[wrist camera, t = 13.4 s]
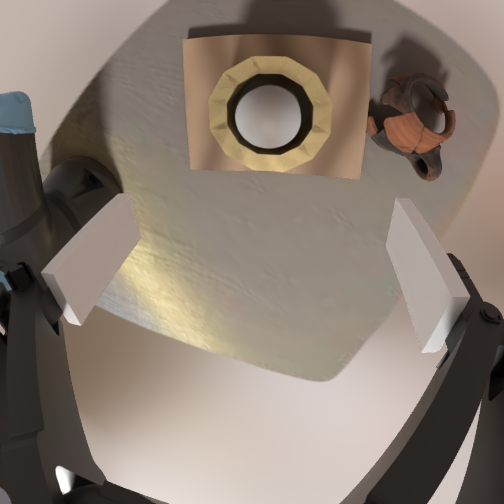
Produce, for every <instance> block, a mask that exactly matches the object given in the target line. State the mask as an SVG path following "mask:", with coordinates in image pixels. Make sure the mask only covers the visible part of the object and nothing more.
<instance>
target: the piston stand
mask: <svg viewBox="0 0 504 504" xmlns="http://www.w3.org/2000/svg"><path fill="white" fill-rule="evenodd" d="M253 56H281V57H289V58H290V59H292V60H294V61H296V62H297V63H299V64H301V65H302V66H304V67H306V68H307V69H309V70H311V71H312V72H314V73H315V74H316V75H318V77H319V79H320V81H321V83H322V85H323V86H324V88H325V90H326V92H327V94H328V96H329V98H330V100H331V101H332V119H331V132H330V136H329V137H328V138H327V140H326V141H325V143H324V144H323V145H322V147H321V148H320V149H319V151H318V152H317V154H316V155H315V156H314V158H313V159H312V160H310V161H307V162H305V163H303V164H301V165H298V166H296V167H294V168H292V169H290V170H287V171H284V172H279V173H294V174H308V175H320V176H331V177H341V178H351V179H359V180H360V174H361V167H362V160H363V152H364V144H365V136H366V127H367V117H368V106H369V94H370V79H371V60H372V44H368V43H363V42H357V41H350V40H343V39H335V38H327V37H316V36H304V35H284V34H244V35H225V36H212V37H201V38H193V39H185V40H183V65H184V86H185V104H186V119H187V133H188V145H189V157H190V168H191V170H232V171H256V170H254V169H253V170H252V169H250V168H248V167H246V166H245V165H243V164H241V163H239V162H238V161H236V160H234V159H232V158H231V157H229V156H227V155H226V154H225V152H224V151H223V149H222V148H221V146H220V145H219V143H218V141H217V140H216V138H215V137H214V135H213V134H212V132H211V131H210V130H211V129H210V121H209V98H210V96H211V94H212V92H213V90H214V89H215V87H216V85H217V83H218V82H219V80H220V78H221V76H222V74H223V73H224V72H225V71H227V70H229V69H230V68H232V67H234V66H236V65H237V64H239V63H241V62H243V61H245V60H246V59H248V58H250V57H253ZM239 101H240V102H239V104H238V106H237V109H236V113H235V119H236V125H237V128H238V130H239V132H240V133H241V135H242V136H243V137H244V138H245V139H246V140H247V141H248V142H250V143H251V144H253V145H255V146H258V147H261V148H277V147H280V146H283V145H285V144H287V143H288V142H290V141H291V140H292V139H293V138H294V137H295V135H296V134H297V132H299V131H300V129H301V128H302V127H303V125H304V124H305V122H306V121H307V119H308V118H309V109H310V99H309V97H308V95H307V93H306V92H305V90H304V88H303V86H301V85H300V84H298V83H296V82H295V81H293V80H291V79H290V78H288V77H286V76H284V75H283V74H262V75H260V76H258V77H256V78H254V79H253V80H251V81H249V82H248V83H247V85H246V87H245V88H244V90H243V92H242V93H241V95H240V97H239ZM260 172H276V171H260Z"/></svg>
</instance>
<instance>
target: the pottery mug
mask: <svg viewBox="0 0 504 504" xmlns="http://www.w3.org/2000/svg"><path fill="white" fill-rule="evenodd" d="M390 80H392V81H395V82H396V83H397V84H398V85H399V86H394V87H392V88H391V89H390V90H389V91H388V92H386V93H384V94H383V97H382V104H384V105H388V104H390V105H391V106H392V107H394V108H396V109H397V110H399V111H400V112H401V113H402V114H401V115H397V116H393V117H387V118H386V119H385V120H384V123H383V124H384V127H385V128H384V129H382V130H381V131H380V132H379V131H378V129H377V126H376V124H375V121H374V118H373V116H368V117H367V127H366V129H367V132H368V133H369V135H370V136H371V138H372V139H373V141H374V142H375V143H376V144H377V145H379V146H380V147H382V148H383V149H385V150H389V151H393V152H395V153H397V154H400V155H402V156H405V157H406V158H408V160H409V161H410V162H411V164H412V166H413V168H414V170H415V171H416V173H417V174H418V175H419V176H420V177H421V178H422V179H424V180H427V181H431V180H432V181H433V180H435V179H436V178H438V177H439V176H440V174H441V171H442V163H441V158H440V149H441V146H440V145H439V144H440V142H442V143H443V142H444V141H445V140H447V139H448V138H450V137H451V135H452V134H453V132H454V129H455V121H456V120H455V112H454V110H450V111H448V109H447V106H446V104H445V102H444V101H448V100H449V98H448V94H447V92H446V91H445V90H444V88H443V87H442V86H441V85H440V84H439V83H438V82H437V81H436V80H435V79H433V78H431V77H429V76H427V75H424V74H418V73H417V74H403V75H397V76H392V77H390ZM415 82H421V83H423V84H425V85H426V86H427V87H428V88H429V90H430V91H431V93H432V94H433V96H434V99H433V101H432V103H431V105H432V107H433V108H434V110H435V111H436V113H437V114H439V115H440V114H442V113H443V112H444V115H445V129H444V131H443V132H442V133H440V134H439V133H435V132H433V131H431V130H429V129H428V128H427V127H426V126H424V124H423V123H422V122H421V120H420V119H419V118H418V116H417V114H416V112H415V111H414V108H413V105H412V101H411V88H412V85H413V84H414V83H415Z"/></svg>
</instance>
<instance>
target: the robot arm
mask: <svg viewBox="0 0 504 504" xmlns="http://www.w3.org/2000/svg"><path fill="white" fill-rule="evenodd" d="M35 132H36V128H35V127H34V124H33V116H32V109H31V102H30V99H29V97H28V96H27V95H26V94H25V93H23V92H20V91H17V92H9V93H3V94H0V324H1V326H2V327H3V329H4V330H5V334H4V335H2V333H1V332H0V504H168V503H165V502H162V501H159V500H156V499H153V498H151V497H148V496H145V495H142V494H140V493H137V492H134V491H131V490H129V489H126V488H123V487H120V486H118V485H116V484H113V483H111V482H108V481H107V480H106V477H105V476H104V474H103V472H102V471H101V470H100V469H99V467H98V466H97V465H96V464H95V462H94V460H93V458H92V456H91V453H90V450H89V447H88V444H87V440H86V437H85V434H84V431H83V427H82V424H81V420H80V416H79V412H78V408H77V404H76V400H75V396H74V391H73V387H72V382H71V377H70V371H69V366H68V360H67V354H66V347H65V340H64V332H63V325H62V322H61V321H60V319H59V318H60V316H61V315H62V314H64V316H65V317H66V319H67V320H68V322H69V323H72V324H76V325H80V326H81V325H82V324H83V322H84V321H85V319H86V318H87V316H88V314H89V312H90V311H91V309H92V308H93V306H94V305H95V303H96V302H97V300H98V299H99V297H100V296H101V294H102V293H103V291H104V290H105V288H106V287H107V285H108V284H109V282H110V281H111V279H112V278H113V276H114V275H115V274H116V272H117V271H118V269H119V268H120V266H121V265H122V264H123V262H124V261H125V259H126V258H127V257H128V255H129V254H130V252H131V251H132V250H133V248H134V247H135V246H136V244H137V243H138V242H139V240H140V239H141V234H140V230H139V227H138V223H137V219H136V215H135V211H134V207H133V203H132V199H131V195H130V193H121V190H120V188H119V186H118V184H117V182H116V180H115V179H114V177H113V176H112V175H111V174H110V172H109V171H108V170H107V169H106V168H105V167H104V166H102V165H101V164H100V163H98V162H97V161H95V160H93V159H91V158H88V157H84V156H74V157H70V158H68V159H66V160H64V161H63V162H61V163H60V164H58V165H57V166H56V167H54V168H53V170H52V171H51V172H50V173H49V175H48V176H47V178H46V179H45V181H44V182H43V183H42V179H41V174H40V169H39V163H38V157H37V150H36V143H35ZM385 247H386V249H387V252H388V254H389V257H390V259H391V262H392V264H393V267H394V270H395V272H396V275H397V278H398V281H399V283H400V286H401V289H402V292H403V295H404V298H405V301H406V304H407V307H408V310H409V313H410V316H411V320H412V323H413V326H414V329H415V333H416V336H417V340H418V343H419V347H420V351H421V353H429V352H438V351H439V350H440V348H441V347H442V345H443V344H444V342H446V345H447V348H448V350H447V352H446V353H445V355H444V356H443V358H442V359H441V361H440V362H439V364H438V365H437V366H436V367H437V368H438V369H437V371H436V372H435V374H434V376H433V378H432V380H431V382H430V383H429V385H428V387H427V389H426V391H425V392H424V394H423V396H422V397H421V399H420V401H419V403H418V404H417V406H416V407H415V409H414V411H413V412H412V414H411V415H410V417H409V418H408V420H407V421H406V423H405V424H404V426H403V427H402V429H401V431H400V432H399V433H398V434H397V436H396V437H395V439H394V440H393V441H392V443H391V444H390V445H389V447H388V448H387V449H386V451H385V452H384V453H383V455H382V456H381V457H380V459H379V460H378V461H377V462H376V464H375V465H374V466H373V467H372V469H371V470H370V471H369V472H368V473H367V474H366V476H365V477H364V478H363V479H362V480H361V481H360V483H359V484H358V485H357V486H356V487H355V488H354V489H353V490H352V492H350V494H349V495H348V496H347V497H346V498H345V499H344V500H343V501H342V502H341V503H340V504H427V503H428V501H429V500H430V499H431V497H432V496H433V494H434V493H435V491H436V489H437V488H438V486H439V485H440V483H441V482H442V480H443V478H444V476H445V475H446V473H447V471H448V470H449V468H450V466H451V464H452V463H453V461H454V459H455V457H456V455H457V453H458V451H459V449H460V447H461V445H462V443H463V441H464V439H465V437H466V435H467V433H468V430H469V428H470V426H471V424H472V422H473V419H474V417H475V414H476V412H477V410H478V407H479V405H480V402H481V399H482V402H481V408H480V414H479V420H478V425H477V430H476V435H475V440H474V444H473V448H472V453H471V456H470V460H469V464H468V467H467V471H466V474H465V477H464V481H463V483H462V487H461V490H460V492H459V495H458V498H457V501H456V504H504V319H503V317H502V314H501V312H500V311H499V310H498V309H497V308H496V307H495V306H494V305H492V304H490V303H488V302H483V300H482V298H481V297H480V295H479V293H478V291H477V289H476V288H475V285H474V284H473V282H472V280H471V279H470V277H469V275H468V273H467V272H466V270H465V268H464V267H463V265H462V263H461V261H460V260H458V259H457V258H456V257H455V256H454V255H453V254H451V253H446V252H445V251H444V249H443V247H442V246H441V244H440V242H439V241H438V239H437V238H436V236H435V235H434V233H433V232H432V230H431V228H430V227H429V225H428V224H427V222H426V221H425V220H424V218H423V217H422V215H421V214H420V212H419V211H418V209H417V208H416V207H415V205H414V204H413V202H412V201H411V200H410V199H404V198H396V200H395V205H394V210H393V215H392V220H391V224H390V229H389V233H388V238H387V242H386V246H385ZM62 492H65V493H66V494H64V495H63V494H62Z"/></svg>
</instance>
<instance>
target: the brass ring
mask: <svg viewBox="0 0 504 504" xmlns="http://www.w3.org/2000/svg"><path fill="white" fill-rule="evenodd" d="M262 74H283V75H284V76H286V77H288V78H290V79H291V80H293V81H295V82H296V83H298V84H300V85H301V86H303V88H304V90H305V92H306V93H307V95H308V97H309V99H310V109H309V118H308V119H307V121H306V122H305V124H304V125H303V127H302V128H301V129H300V131H299V132H297V134H296V135H295V137H294V138H293V139H292V140H291V141H290V142H288V143H287V144H285V145H283V146H280V147H277V148H261V147H258V146H255V145H253V144H251V143H250V142H248V141H247V140H246V139H245V138H244V137H243V136H242V135H241V133H240V132H239V130H238V128H237V125H236V119H235V113H236V109H237V106H238V104H239V102H240V101H239V97H240V95H241V93H242V92H243V90H244V88H245V87H246V85H247V83H248V82H249V81H251V80H253V79H254V78H256V77H258V76H260V75H262ZM331 119H332V101H331V100H330V98H329V96H328V94H327V92H326V90H325V88H324V86H323V85H322V83H321V81H320V79H319V77H318V75H316V74H315V73H314V72H312V71H311V70H309V69H307V68H306V67H304V66H302V65H301V64H299V63H297V62H296V61H294V60H292V59H290V58H289V57H281V56H253V57H250V58H248V59H246V60H245V61H243V62H241V63H239V64H237V65H236V66H234V67H232V68H230V69H229V70H227V71H225V72H224V73H223V74H222V76H221V78H220V80H219V82H218V83H217V85H216V87H215V89H214V90H213V92H212V94H211V96H210V98H209V121H210V129H211V130H210V131H211V132H212V134H213V135H214V137H215V138H216V140H217V141H218V143H219V145H220V146H221V148H222V149H223V151H224V152H225V154H226V155H227V156H229V157H231V158H232V159H234V160H236V161H238V162H239V163H241V164H243V165H245V166H246V167H248V168H250V169H252V170H253V169H254V170H256V171H276V172H284V171H287V170H290V169H292V168H294V167H296V166H298V165H301V164H303V163H305V162H307V161H310V160H312V159H313V158H314V156H315V155H316V154H317V152H318V151H319V149H320V148H321V147H322V145H323V144H324V143H325V141H326V140H327V138H328V137H329V136H330V132H331Z"/></svg>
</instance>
